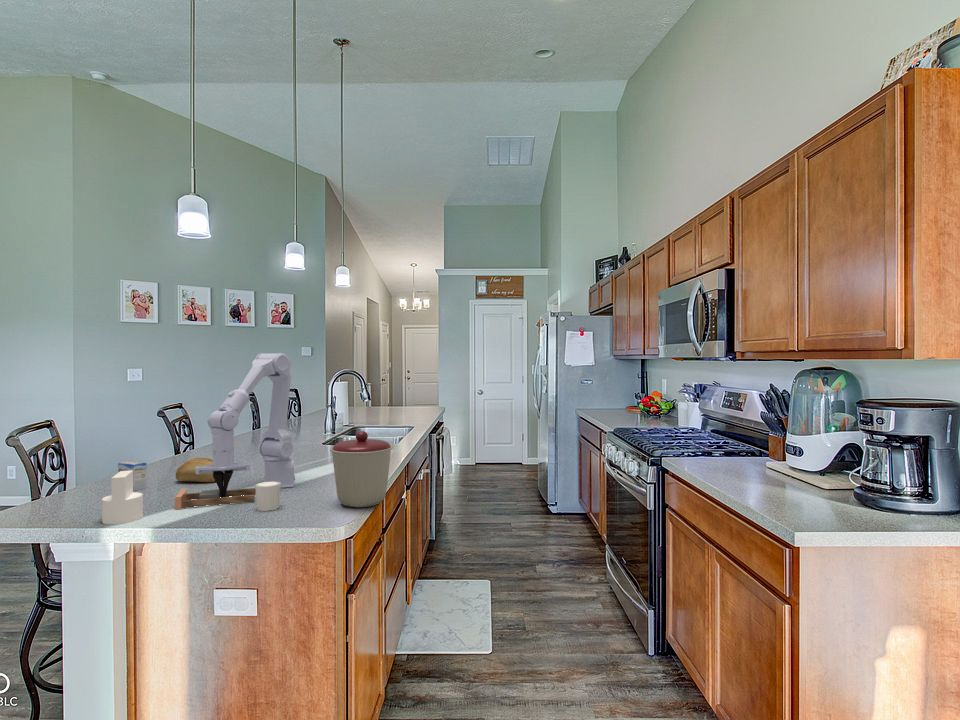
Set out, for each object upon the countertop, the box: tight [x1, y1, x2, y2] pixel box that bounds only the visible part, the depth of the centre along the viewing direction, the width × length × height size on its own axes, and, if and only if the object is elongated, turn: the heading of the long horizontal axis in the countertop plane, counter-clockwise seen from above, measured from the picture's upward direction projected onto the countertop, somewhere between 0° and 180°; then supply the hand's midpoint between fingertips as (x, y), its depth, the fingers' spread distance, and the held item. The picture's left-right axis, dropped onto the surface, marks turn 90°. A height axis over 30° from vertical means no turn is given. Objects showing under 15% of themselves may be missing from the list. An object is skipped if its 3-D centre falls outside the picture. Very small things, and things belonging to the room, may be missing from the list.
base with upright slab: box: [101, 470, 144, 525], centre depth 143 cm, size 9×9×12 cm
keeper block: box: [199, 488, 220, 499], centre depth 160 cm, size 5×6×3 cm
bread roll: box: [175, 457, 216, 483], centre depth 186 cm, size 10×15×8 cm, turn 91°
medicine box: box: [117, 460, 148, 492], centre depth 176 cm, size 8×4×9 cm, turn 68°
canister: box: [329, 430, 394, 508], centre depth 158 cm, size 18×18×21 cm
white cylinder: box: [254, 481, 281, 512], centre depth 153 cm, size 7×7×7 cm
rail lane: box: [174, 487, 256, 510], centre depth 160 cm, size 20×11×4 cm, turn 110°
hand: (223, 496), depth 161 cm, fingers closed
